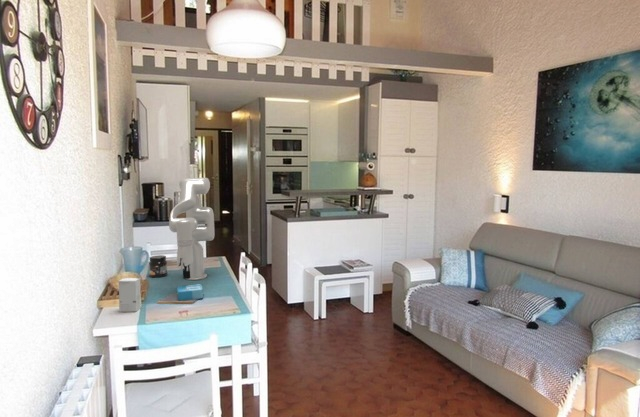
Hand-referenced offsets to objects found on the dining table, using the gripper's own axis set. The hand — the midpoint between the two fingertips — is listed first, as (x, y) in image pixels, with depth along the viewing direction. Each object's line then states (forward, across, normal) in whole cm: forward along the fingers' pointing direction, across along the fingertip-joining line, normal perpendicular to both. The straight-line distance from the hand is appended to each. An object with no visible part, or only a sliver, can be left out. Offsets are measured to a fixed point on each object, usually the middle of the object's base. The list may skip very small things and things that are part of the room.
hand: (186, 278), depth 234 cm
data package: (+6, -1, +1) cm, 6 cm away
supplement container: (+9, -40, -36) cm, 54 cm away
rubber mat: (+9, +7, 0) cm, 11 cm away
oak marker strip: (+9, +15, 0) cm, 17 cm away
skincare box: (+9, +25, -17) cm, 32 cm away
